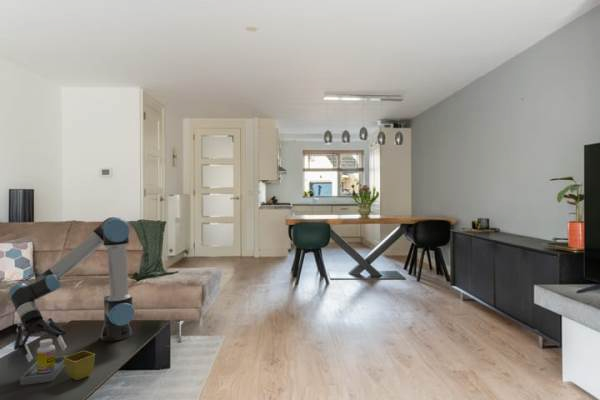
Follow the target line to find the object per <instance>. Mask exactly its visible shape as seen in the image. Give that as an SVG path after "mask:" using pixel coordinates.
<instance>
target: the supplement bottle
mask: <svg viewBox="0 0 600 400" xmlns="http://www.w3.org/2000/svg"><path fill="white" fill-rule="evenodd" d="M53 341H54V340H53V339H52V338H47V339H41V340H40V341H39V347H38V348H37V350H36V362H37V372H38V373H48V372H51V371H53V370H54V369H55V357H56V346H55V345H54V344H53Z"/></svg>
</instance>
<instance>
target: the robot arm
mask: <svg viewBox="0 0 600 400" xmlns="http://www.w3.org/2000/svg"><path fill="white" fill-rule="evenodd" d="M130 231H131V229H130V225H129V223H128V222H127V221H126V220H125V219H123V218H121V217H114V216H112V217H108V218H105V220H103V221H102V222H100V224H99V225H98V226H96V228H95V229H93V230H92V231H91V235H90V234H89V236H88V237H87V238H85V239H84V240H82V242H81V243H79V244H78V245H76V247H74V248H72V249H71V250H70V251H69V252H68V253H67V254H65V255H63V257H61V258H60V259H59V260H58V261H56V262H55V263H54V264H52V266H50V267H48V269H46V270H44V272H42V273H40V274H39V275H38V276H36V278H35V279H36V280H35V282H33V283H29V284H26V283H23V282H22V283H19V284H17V283H16V284H15V285H13V286H11V288H9V290H8V294H9V297H10V301H11V302H12V304H13V306H14V308H15V311H16V314H17V315H18V318H19V320H20V322H21V325H22V326H21V325H18V326H17V327H16V329H15V332H16V336H15V341H14V347H13V349H14V351H15V350H16V351H17V350H19V351H21V354H22V356H25V357H26V359H27V362H28V363H31V362H32V361H33V360H34V357H33V355H32V352H31V350H30V348H29V346H28V344H26V343H27V341H28V340H29V337H30V336H31V335H32V334H33V335H35V334H38V333H39V334H40V333H41V332H43V333H47V334H49V335H52V336H53V337H56V341H57V342H58V345H59V347H60V348H61V351H62V352H65V350H66V349H67V348H68V347H67V344H66V338H65V334H66V333H67V330H66V329H65V328H63V327H62V326H61V325H59V323H57V322H55V321H54V319H52V317H49V318H48V319H46V320H44V317H43V315H42V313H41V311H40V309H39V307H38V305H37V303H36V300H38V299H40V298H42V297H44V296H47V295H48V294H49V295H50V294H51V293H53V292H55V291H56V290H58V289H60V288H61V287H62V283H61V282H60V280H61V279H63V277H64V276H66V275H67V274H68V273H70V272H71V271H72V270H73V269H74V268H76V267H77V266H78V265H80V264H81V263H82V262H84V260H85V259H87V258H88V257H89V256H90V255H92V254H93V253H95V251H97V250H98V249H100V247H101V246H104V247H105V248H106V249H107V261H108V262H107V264H108V266H107V267H108V279H109V280H108V282H109V284H108V285H109V294H106V295H105V296H104V297H103V318H104V319H103V323H104V324H103V327H102V330H101V333H100V340H101V341H103V342H116V341H122V340H124V339H127V338H130V337H131V336H132V333H133V332H132V331H133V330H132V328H131V326H130V325H131V324H130V322H131V321H132V320H133V319H134V317H135V313H136V312H135V307H134V306H133V295H132V294H131V293H130V292H129V281H128V280H129V279H128V261H127V260H128V259H127V246H128V245H129V243H130V242H129V241H130V237H129V236H130V234H131V233H130ZM23 331H26V332H27V333H26V334H25V337H24V338H23V340H22V343H21V338H22V333H23ZM20 343H21V344H20Z"/></svg>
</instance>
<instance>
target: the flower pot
mask: <svg viewBox="0 0 600 400" xmlns="http://www.w3.org/2000/svg"><path fill="white" fill-rule="evenodd" d="M66 356H67V357H64V363H65V367H64V369H65V372H66V373H67V375H68V376H69V378H70V379H73V380H76V381H80V380H82V379H85V378H87V377H89V376H90V375H91V374H92V373H93V372H92V371H93V369H94V366H95V359H96V354H95V353H93V352H90V351H87V350H81V351H78V352H75V353H73V354H70V355H66Z"/></svg>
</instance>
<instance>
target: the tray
mask: <svg viewBox="0 0 600 400" xmlns="http://www.w3.org/2000/svg"><path fill="white" fill-rule="evenodd" d="M67 356H68V355H63V356H62V355H61V356H55V369H54V370H53V371H51V372H48V373H38V372H37V361H35V363H34V364H32V365H31V367H30V368H29V369H28V370H27V371H26V372H25V373H24V374H23V375H21V377H20V378H19V379H20V380H19V385H20V386H24V385H25V386H26V385H33V384H40V383H48V382H49V383H50V381H51V382H53V381H55V379H56V378H57V377H58V375H59V374H60V373H61V371H62V370H63V369H65V363H64V357H67Z"/></svg>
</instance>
